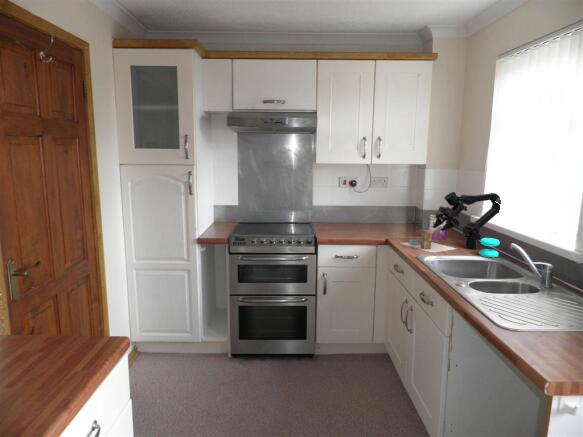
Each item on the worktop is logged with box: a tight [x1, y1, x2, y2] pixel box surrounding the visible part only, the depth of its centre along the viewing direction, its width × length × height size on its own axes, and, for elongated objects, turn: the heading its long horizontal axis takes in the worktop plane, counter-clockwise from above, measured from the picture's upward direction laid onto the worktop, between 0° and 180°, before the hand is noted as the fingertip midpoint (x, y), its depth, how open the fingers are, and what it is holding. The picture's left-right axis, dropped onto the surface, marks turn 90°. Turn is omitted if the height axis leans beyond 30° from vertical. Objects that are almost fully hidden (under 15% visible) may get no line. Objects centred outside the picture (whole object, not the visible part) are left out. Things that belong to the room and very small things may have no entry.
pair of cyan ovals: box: [479, 237, 501, 259], centre depth 229 cm, size 10×10×10 cm
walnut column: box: [420, 229, 432, 251], centre depth 242 cm, size 4×4×11 cm
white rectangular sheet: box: [400, 241, 457, 253], centre depth 250 cm, size 21×27×1 cm
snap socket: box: [409, 239, 421, 246], centre depth 255 cm, size 8×8×2 cm
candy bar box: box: [428, 214, 447, 240], centre depth 275 cm, size 11×5×16 cm, turn 74°
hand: (437, 229), depth 243 cm, fingers open, 9 cm apart
